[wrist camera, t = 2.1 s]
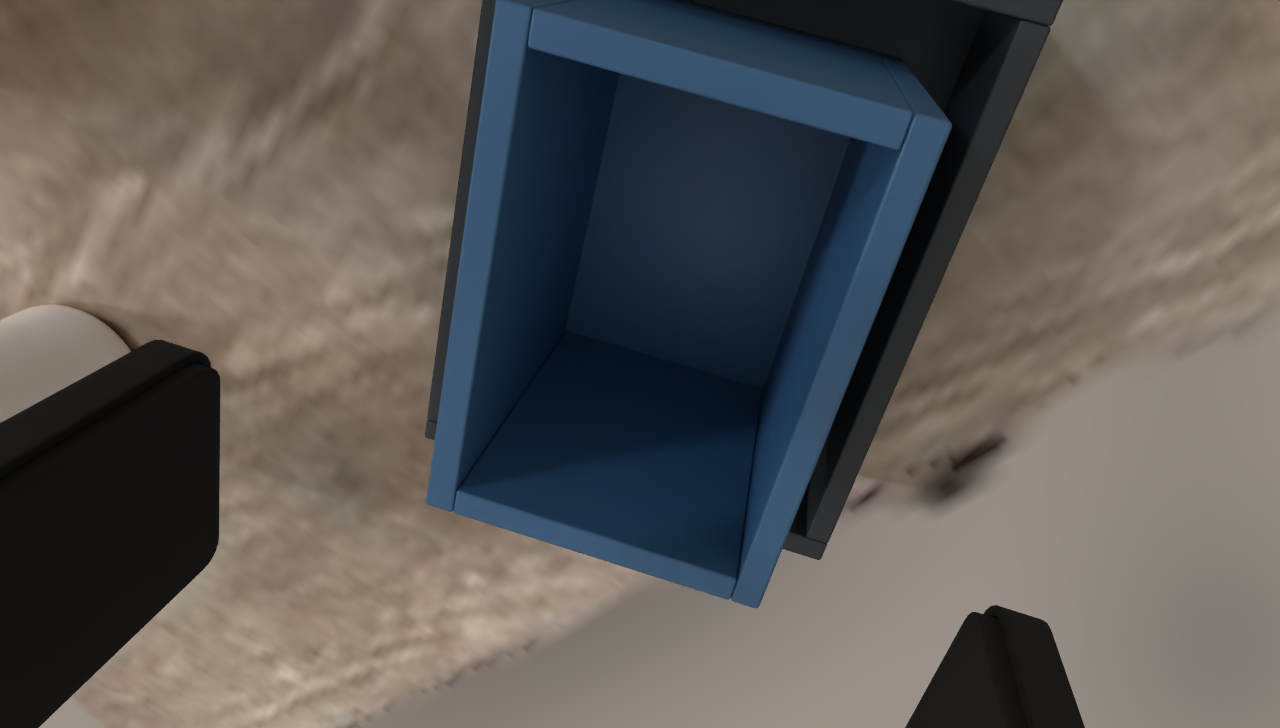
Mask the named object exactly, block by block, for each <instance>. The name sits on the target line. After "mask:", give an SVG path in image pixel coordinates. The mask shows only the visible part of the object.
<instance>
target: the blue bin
mask: <svg viewBox="0 0 1280 728" xmlns="http://www.w3.org/2000/svg"><path fill="white" fill-rule="evenodd" d="M951 128H952V123H951V122H950V121H949V119H948V118H947V117H946V115H945V114H944V113H943V112H942V110H941V109H940V108H939V106H938V105H937V104H936V103H935V101H934V100H933V99H932V97H931V96H930V95H929V93H928V92H927V91H926V90H925V88H924V87H923V86H922V84H921V83H920V82H919V81H918V79H917V78H916V77H915V75H914V74H913V73H912V71H911V70H910V69H909V68H908V66H907V65H906V64H905V62H904V61H903V59H902V58H900V57H897V56H893V55H889V54H886V53H882V52H878V51H875V50H871V49H867V48H863V47H860V46H856V45H852V44H849V43H845V42H841V41H838V40H834V39H830V38H826V37H823V36H819V35H815V34H812V33H808V32H804V31H801V30H797V29H793V28H789V27H786V26H782V25H778V24H775V23H771V22H767V21H764V20H760V19H756V18H752V17H749V16H745V15H741V14H738V13H734V12H730V11H727V10H723V9H719V8H715V7H712V6H708V5H704V4H701V3H697V2H693V1H690V0H496V5H495V12H494V19H493V26H492V33H491V40H490V48H489V55H488V62H487V69H486V76H485V84H484V91H483V98H482V105H481V112H480V119H479V127H478V134H477V141H476V148H475V155H474V163H473V170H472V177H471V184H470V191H469V198H468V206H467V213H466V220H465V227H464V234H463V241H462V249H461V256H460V263H459V270H458V277H457V285H456V292H455V299H454V306H453V313H452V320H451V328H450V335H449V342H448V349H447V356H446V364H445V371H444V378H443V385H442V392H441V399H440V407H439V414H438V421H437V428H436V435H435V443H434V450H433V457H432V464H431V471H430V478H429V486H428V493H427V500H426V503H427V504H428V505H431V506H434V507H437V508H440V509H443V510H447V511H450V512H451V511H453V510H454V512H455V513H457V514H460V515H463V516H466V517H469V518H472V519H475V520H479V521H482V522H485V523H488V524H491V525H494V526H497V527H501V528H504V529H507V530H510V531H513V532H516V533H519V534H523V535H526V536H529V537H532V538H535V539H538V540H541V541H545V542H548V543H551V544H554V545H557V546H560V547H563V548H567V549H570V550H573V551H576V552H579V553H582V554H586V555H589V556H592V557H595V558H598V559H601V560H604V561H608V562H611V563H614V564H617V565H620V566H623V567H626V568H630V569H633V570H636V571H639V572H642V573H645V574H648V575H652V576H655V577H658V578H661V579H664V580H667V581H670V582H674V583H677V584H680V585H683V586H686V587H690V588H693V589H696V590H699V591H702V592H705V593H709V594H711V595H715V596H718V597H721V598H724V599H729V598H731V599H732V601H734V602H737V603H740V604H744V605H747V606H750V607H753V608H758V607H759V605H760V603H761V600H762V598H763V595H764V593H765V591H766V588H767V586H768V583H769V581H770V578H771V575H772V573H773V571H774V568H775V566H776V563H777V561H778V558H779V556H780V553H781V550H782V548H783V546H784V543H785V541H786V538H787V536H788V533H789V531H790V528H791V526H792V523H793V521H794V518H795V516H796V513H797V511H798V508H799V506H800V503H801V501H802V499H803V496H804V494H805V491H806V489H807V486H808V484H809V481H810V479H811V476H812V474H813V471H814V469H815V466H816V464H817V461H818V459H819V456H820V454H821V451H822V449H823V446H824V444H825V441H826V439H827V436H828V434H829V431H830V429H831V426H832V424H833V421H834V419H835V416H836V414H837V412H838V409H839V407H840V404H841V402H842V399H843V397H844V394H845V392H846V389H847V387H848V384H849V382H850V379H851V377H852V374H853V372H854V369H855V367H856V364H857V362H858V359H859V357H860V354H861V352H862V349H863V347H864V344H865V342H866V339H867V337H868V334H869V332H870V329H871V327H872V324H873V322H874V320H875V317H876V315H877V312H878V310H879V307H880V305H881V302H882V300H883V297H884V295H885V292H886V290H887V287H888V285H889V282H890V280H891V277H892V275H893V272H894V270H895V267H896V265H897V262H898V260H899V257H900V255H901V252H902V250H903V247H904V245H905V242H906V240H907V237H908V235H909V232H910V230H911V228H912V225H913V223H914V220H915V218H916V215H917V213H918V210H919V208H920V205H921V203H922V200H923V198H924V195H925V193H926V190H927V188H928V185H929V183H930V180H931V178H932V175H933V173H934V170H935V168H936V165H937V163H938V160H939V158H940V155H941V153H942V150H943V148H944V145H945V143H946V141H947V138H948V136H949V133H950V131H951Z"/></svg>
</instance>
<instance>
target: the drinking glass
mask: <svg viewBox="0 0 1280 728" xmlns="http://www.w3.org/2000/svg"><path fill="white" fill-rule="evenodd" d="M130 352H131V350H130V349H129V347H128V346H127V345H126V344H125V342H124V341H123V340H122V339H121V338H120V337H119V335H117V334H116V333H115V332H114V331H113V330H112V329H111V328H110V327H109V326H107V325H106V324H105V323H103V322H102V321H101V320H99V319H97V318H96V317H94V316H92V315H90V314H88V313H86V312H84V311H82V310H79V309H76V308H73V307H69V306H65V305H58V304H43V305H36V306H32V307H28V308H25V309H23V310H20V311H18V312H15V313H13V314H11V315H9V316H6V317H4V318H2V319H0V423H1V422H3V421H5V420H7V419H8V418H10V417H12V416H14V415H16V414H18V413H19V412H21V411H23V410H25V409H27V408H29V407H31V406H32V405H34V404H36V403H38V402H40V401H42V400H43V399H45V398H47V397H49V396H51V395H53V394H54V393H56V392H58V391H60V390H62V389H64V388H65V387H67V386H69V385H71V384H73V383H75V382H76V381H78V380H80V379H82V378H84V377H86V376H87V375H89V374H91V373H93V372H95V371H97V370H98V369H100V368H102V367H104V366H106V365H108V364H109V363H111V362H113V361H115V360H117V359H119V358H120V357H122V356H124V355H126V354H128V353H130Z"/></svg>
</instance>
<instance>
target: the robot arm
mask: <svg viewBox="0 0 1280 728" xmlns="http://www.w3.org/2000/svg"><path fill="white" fill-rule="evenodd" d="M219 463H220V376H219V374H218V372H217V371H216V370H214V369H212V368H211V363H210V361H209V359H208V357H207V356H206V355H204V354H203V353H201V352H198V351H195V350H191V349H188V348H185V347H182V346H179V345H176V344H173V343H169V342H166V341H163V340H154V341H151V342H148V343H146V344H144V345H142V346H141V347H139V348H137V349H135V350H133V351H131V352H130V353H128V354H126V355H124V356H122V357H120V358H119V359H117V360H115V361H113V362H111V363H109V364H108V365H106V366H104V367H102V368H100V369H98V370H97V371H95V372H93V373H91V374H89V375H87V376H86V377H84V378H82V379H80V380H78V381H76V382H75V383H73V384H71V385H69V386H67V387H65V388H64V389H62V390H60V391H58V392H56V393H54V394H53V395H51V396H49V397H47V398H45V399H43V400H42V401H40V402H38V403H36V404H34V405H32V406H31V407H29V408H27V409H25V410H23V411H21V412H19V413H18V414H16V415H14V416H12V417H10V418H8V419H7V420H5V421H3V422H1V423H0V728H38V727H40V726H41V725H42V724H43V723H44V722H45V721H46V720H47V719H48V718H49V717H50V716H51V715H52V714H53V713H54V712H55V711H56V710H57V709H58V708H59V707H60V706H61V705H62V704H63V703H64V702H66V701H67V700H68V699H69V698H70V697H71V696H72V695H73V694H74V693H75V692H76V691H77V690H78V689H79V688H80V687H81V686H82V685H83V684H84V683H85V682H86V681H88V680H89V679H90V678H91V677H92V676H93V675H94V674H95V673H96V672H97V671H98V670H99V669H100V668H101V667H102V666H103V665H104V664H105V663H106V662H107V661H108V660H109V659H110V658H111V657H113V656H114V655H115V654H116V653H117V652H118V651H119V650H120V649H121V648H122V647H123V646H124V645H125V644H126V643H127V642H128V641H129V640H130V639H131V638H132V637H133V636H134V635H135V634H137V633H138V632H139V631H140V630H141V629H142V628H143V627H144V626H145V625H146V624H147V623H148V622H149V621H150V620H151V619H152V618H153V617H154V616H155V615H156V614H157V613H158V612H159V611H161V610H162V609H163V608H164V607H165V606H166V605H167V604H168V603H169V602H170V601H171V600H172V599H173V598H174V597H175V596H176V595H177V594H178V593H179V592H180V591H181V590H182V589H183V588H185V587H186V586H187V585H188V584H189V583H190V582H191V581H192V580H193V579H194V578H195V577H196V576H197V575H198V574H199V573H200V572H201V571H202V570H203V569H204V568H205V567H206V566H207V565H208V564H209V562H210V561H211V559H212V557H213V555H214V553H215V551H216V548H217V545H218V540H219ZM905 728H1085V727H1084V724H1083V721H1082V718H1081V715H1080V712H1079V710H1078V707H1077V704H1076V701H1075V698H1074V695H1073V692H1072V689H1071V687H1070V684H1069V681H1068V678H1067V675H1066V672H1065V669H1064V666H1063V663H1062V660H1061V658H1060V655H1059V652H1058V649H1057V646H1056V643H1055V640H1054V638H1053V634H1052V632H1051V629H1050V627H1049V626H1048V624H1047V623H1046V622H1045V621H1043V620H1041V619H1038V618H1034V617H1032V616H1028V615H1025V614H1022V613H1019V612H1016V611H1013V610H1009V609H1006V608H1003V607H1000V606H997V605H995V606H991V607H989V608H988V609H987V610H986V611H985V613H984V614H980V613H977V612H972V613H970V614H969V615H968V616H967V618H966V619H965V621H964V622H963V624H962V626H961V628H960V630H959V632H958V633H957V635H956V637H955V639H954V641H953V642H952V644H951V646H950V648H949V649H948V651H947V653H946V655H945V657H944V659H943V660H942V662H941V664H940V666H939V668H938V669H937V671H936V673H935V675H934V677H933V678H932V680H931V683H930V684H929V686H928V688H927V689H926V691H925V693H924V695H923V696H922V698H921V700H920V702H919V704H918V706H917V708H916V709H915V711H914V713H913V715H912V716H911V718H910V720H909V722H908V724H907V726H906V727H905Z"/></svg>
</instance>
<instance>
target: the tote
mask: <svg viewBox="0 0 1280 728" xmlns="http://www.w3.org/2000/svg"><path fill="white" fill-rule="evenodd" d="M690 1H693V2H697V3H701V4H704V5H708V6H712V7H715V8H719V9H723V10H727V11H730V12H734V13H738V14H741V15H745V16H749V17H752V18H756V19H760V20H764V21H767V22H771V23H775V24H778V25H782V26H786V27H789V28H793V29H797V30H801V31H804V32H808V33H812V34H815V35H819V36H823V37H826V38H830V39H834V40H838V41H841V42H845V43H849V44H852V45H856V46H860V47H863V48H867V49H871V50H875V51H878V52H882V53H886V54H889V55H893V56H897V57H900V58H902V59H903V61H904V62H905V64H906V65H907V66H908V68H909V69H910V70H911V71H912V73H913V74H914V75H915V77H916V78H917V79H918V81H919V82H920V83H921V84H922V86H923V87H924V88H925V90H926V91H927V92H928V93H929V95H930V96H931V97H932V99H933V100H934V101H935V103H936V104H937V105H938V106H939V108H940V109H941V110H942V112H943V113H944V114H945V115H946V117H947V118H948V119H949V121H950V122H951V123H952V128H951V131H950V133H949V136H948V138H947V141H946V143H945V145H944V148H943V150H942V153H941V155H940V158H939V160H938V163H937V165H936V168H935V170H934V173H933V175H932V178H931V180H930V183H929V185H928V188H927V190H926V193H925V195H924V198H923V200H922V203H921V205H920V208H919V210H918V213H917V215H916V218H915V220H914V223H913V225H912V228H911V230H910V232H909V235H908V237H907V240H906V242H905V245H904V247H903V250H902V252H901V255H900V257H899V260H898V262H897V265H896V267H895V270H894V272H893V275H892V277H891V280H890V282H889V285H888V287H887V290H886V292H885V295H884V297H883V300H882V302H881V305H880V307H879V310H878V312H877V315H876V317H875V320H874V322H873V324H872V327H871V329H870V332H869V334H868V337H867V339H866V342H865V344H864V347H863V349H862V352H861V354H860V357H859V359H858V362H857V364H856V367H855V369H854V372H853V374H852V377H851V379H850V382H849V384H848V387H847V389H846V392H845V394H844V397H843V399H842V402H841V404H840V407H839V409H838V412H837V414H836V416H835V419H834V421H833V424H832V426H831V429H830V431H829V434H828V436H827V439H826V441H825V444H824V446H823V449H822V451H821V454H820V456H819V459H818V461H817V464H816V466H815V469H814V471H813V474H812V476H811V479H810V481H809V484H808V486H807V489H806V491H805V494H804V496H803V499H802V501H801V503H800V506H799V508H798V511H797V513H796V516H795V518H794V521H793V523H792V526H791V528H790V531H789V533H788V536H787V538H786V541H785V543H784V546H783V548H782V549H785V550H788V551H791V552H795V553H798V554H801V555H804V556H808V557H811V558H814V559H817V560H820V559H821V557H822V555H823V553H824V550H825V548H826V546H827V543H828V541H829V539H830V537H831V535H832V532H833V530H834V528H835V525H836V523H837V521H838V518H839V516H840V514H841V512H842V509H843V507H844V505H845V502H846V500H847V498H848V495H849V493H850V491H851V488H852V486H853V484H854V482H855V479H856V477H857V475H858V472H859V470H860V468H861V465H862V463H863V461H864V458H865V456H866V454H867V452H868V449H869V447H870V445H871V442H872V440H873V438H874V435H875V433H876V431H877V428H878V426H879V424H880V422H881V419H882V417H883V415H884V412H885V410H886V408H887V405H888V403H889V401H890V398H891V396H892V394H893V392H894V389H895V387H896V385H897V382H898V380H899V378H900V375H901V373H902V371H903V369H904V366H905V364H906V362H907V359H908V357H909V355H910V352H911V350H912V348H913V345H914V343H915V341H916V339H917V336H918V334H919V332H920V329H921V327H922V325H923V322H924V320H925V318H926V315H927V313H928V311H929V309H930V306H931V304H932V302H933V299H934V297H935V295H936V292H937V290H938V288H939V285H940V283H941V281H942V279H943V276H944V274H945V272H946V269H947V267H948V265H949V262H950V260H951V258H952V255H953V253H954V251H955V249H956V246H957V244H958V242H959V239H960V237H961V235H962V232H963V230H964V228H965V225H966V223H967V221H968V219H969V216H970V214H971V212H972V209H973V207H974V205H975V202H976V200H977V198H978V195H979V193H980V191H981V189H982V186H983V184H984V182H985V179H986V177H987V175H988V172H989V170H990V168H991V165H992V163H993V161H994V159H995V156H996V154H997V152H998V149H999V147H1000V145H1001V142H1002V140H1003V138H1004V135H1005V133H1006V131H1007V129H1008V126H1009V124H1010V122H1011V119H1012V117H1013V115H1014V112H1015V110H1016V108H1017V106H1018V103H1019V101H1020V99H1021V96H1022V94H1023V92H1024V89H1025V87H1026V85H1027V82H1028V80H1029V78H1030V76H1031V73H1032V71H1033V69H1034V66H1035V64H1036V62H1037V59H1038V57H1039V55H1040V52H1041V50H1042V48H1043V46H1044V43H1045V41H1046V39H1047V36H1048V34H1049V32H1050V28H1049V27H1048V26H1051V25H1052V24H1053V22H1054V20H1055V17H1056V15H1057V13H1058V11H1059V8H1060V6H1061V4H1062V1H1063V0H690ZM495 5H496V0H483V1H482V8H481V16H480V23H479V31H478V39H477V46H476V54H475V61H474V69H473V76H472V84H471V91H470V99H469V107H468V114H467V122H466V129H465V137H464V144H463V152H462V159H461V167H460V175H459V182H458V190H457V197H456V205H455V212H454V220H453V228H452V235H451V243H450V250H449V258H448V265H447V273H446V280H445V288H444V296H443V303H442V311H441V318H440V326H439V333H438V341H437V348H436V356H435V364H434V371H433V379H432V386H431V394H430V401H429V409H428V420H427V424H426V432H425V437H427V438H430V439H433V440H435V435H436V428H437V421H438V414H439V407H440V399H441V392H442V385H443V378H444V371H445V364H446V356H447V349H448V342H449V335H450V328H451V320H452V313H453V306H454V299H455V292H456V285H457V277H458V270H459V263H460V256H461V249H462V241H463V234H464V227H465V220H466V213H467V206H468V198H469V191H470V184H471V177H472V170H473V163H474V155H475V148H476V141H477V134H478V127H479V119H480V112H481V105H482V98H483V91H484V84H485V76H486V69H487V62H488V55H489V48H490V40H491V33H492V26H493V19H494V12H495Z"/></svg>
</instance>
